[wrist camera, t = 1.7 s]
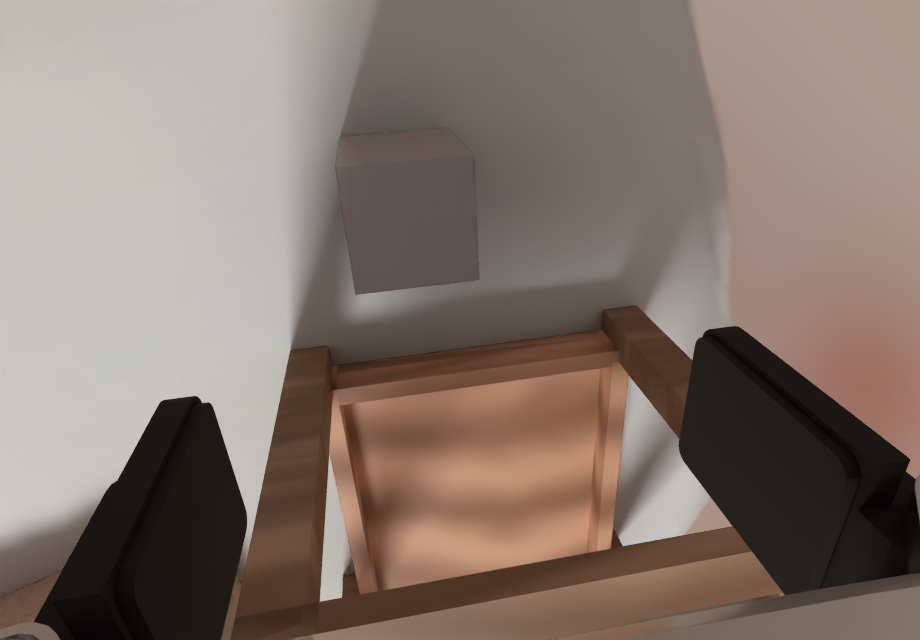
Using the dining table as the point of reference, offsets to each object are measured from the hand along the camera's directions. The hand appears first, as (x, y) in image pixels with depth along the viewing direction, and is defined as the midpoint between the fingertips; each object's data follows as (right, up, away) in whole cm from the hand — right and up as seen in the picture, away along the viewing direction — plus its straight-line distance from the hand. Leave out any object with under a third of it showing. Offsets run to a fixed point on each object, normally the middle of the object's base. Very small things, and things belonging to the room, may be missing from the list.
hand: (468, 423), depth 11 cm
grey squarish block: (-3, +9, +16) cm, 18 cm away
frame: (+1, -9, +26) cm, 27 cm away
